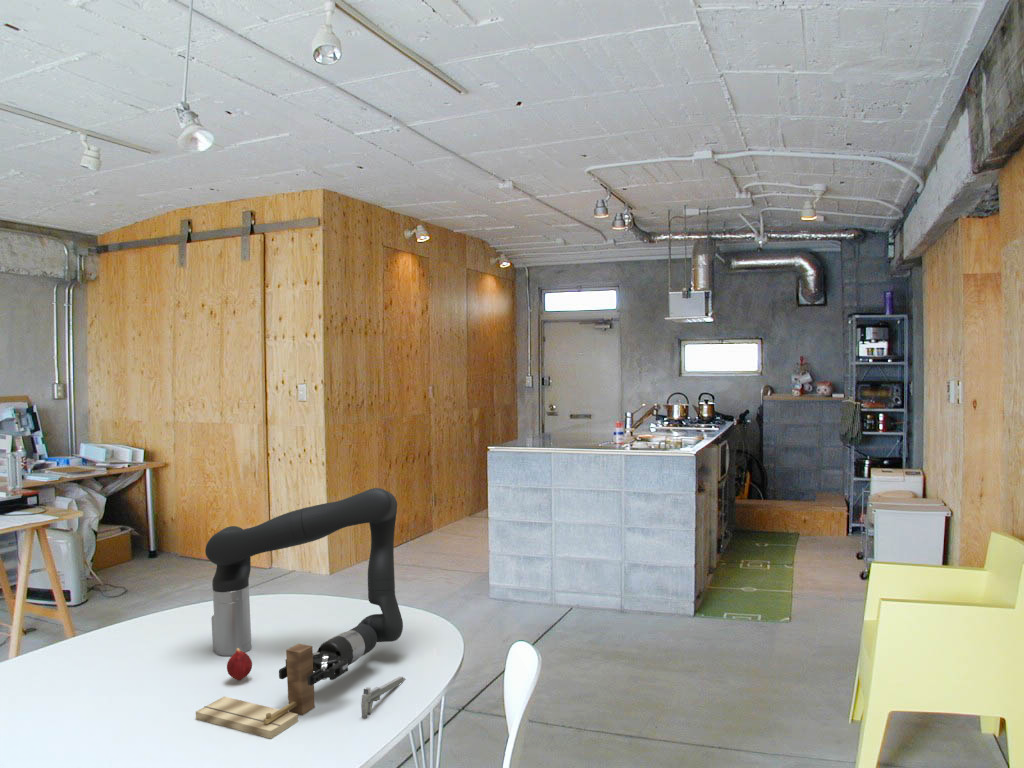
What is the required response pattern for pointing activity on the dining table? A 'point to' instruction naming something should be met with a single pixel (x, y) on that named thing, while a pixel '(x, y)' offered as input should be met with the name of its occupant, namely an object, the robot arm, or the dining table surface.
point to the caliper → (376, 695)
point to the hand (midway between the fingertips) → (294, 677)
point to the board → (245, 717)
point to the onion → (239, 665)
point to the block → (297, 682)
